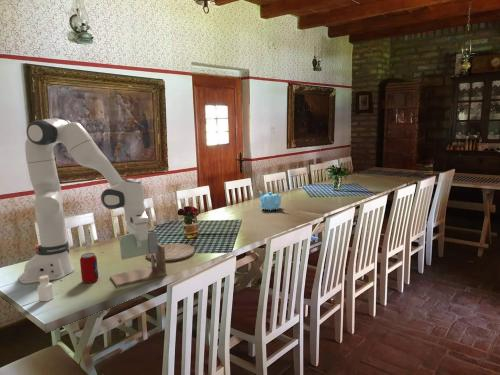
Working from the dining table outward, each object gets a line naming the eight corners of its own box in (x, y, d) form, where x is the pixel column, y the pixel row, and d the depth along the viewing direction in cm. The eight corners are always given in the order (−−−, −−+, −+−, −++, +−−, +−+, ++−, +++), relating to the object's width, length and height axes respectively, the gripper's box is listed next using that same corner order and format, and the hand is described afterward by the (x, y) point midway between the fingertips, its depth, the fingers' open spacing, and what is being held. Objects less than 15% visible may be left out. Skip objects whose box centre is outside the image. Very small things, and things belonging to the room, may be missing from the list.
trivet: (201, 248, 207) (201, 245, 207) (181, 265, 183) (181, 261, 183) (161, 245, 214) (160, 242, 214) (136, 261, 190) (136, 257, 190)
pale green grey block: (122, 260, 163) (120, 238, 161) (120, 257, 166) (118, 236, 164) (158, 252, 171) (156, 231, 170) (155, 250, 174) (153, 229, 173)
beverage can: (101, 280, 166) (99, 254, 164) (86, 285, 162) (83, 258, 159) (94, 276, 171) (91, 251, 169) (79, 281, 166) (76, 255, 164)
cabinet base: (117, 287, 159) (114, 257, 157) (110, 277, 169) (107, 250, 167) (166, 275, 171) (165, 247, 168) (157, 266, 181) (156, 240, 178)
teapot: (259, 207, 302) (259, 190, 300) (283, 207, 300) (283, 190, 298) (257, 212, 287) (256, 194, 284) (283, 212, 284) (282, 194, 282)
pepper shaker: (47, 302, 147) (44, 279, 145) (38, 301, 148) (35, 278, 146) (54, 297, 151) (51, 275, 149) (45, 296, 151) (42, 274, 150)
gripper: (121, 212, 172) (124, 241, 175) (134, 221, 155) (137, 253, 158) (135, 210, 176) (137, 238, 178) (149, 218, 159) (152, 250, 161)
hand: (137, 245), depth 168 cm, fingers closed on pale green grey block, 2 cm apart
